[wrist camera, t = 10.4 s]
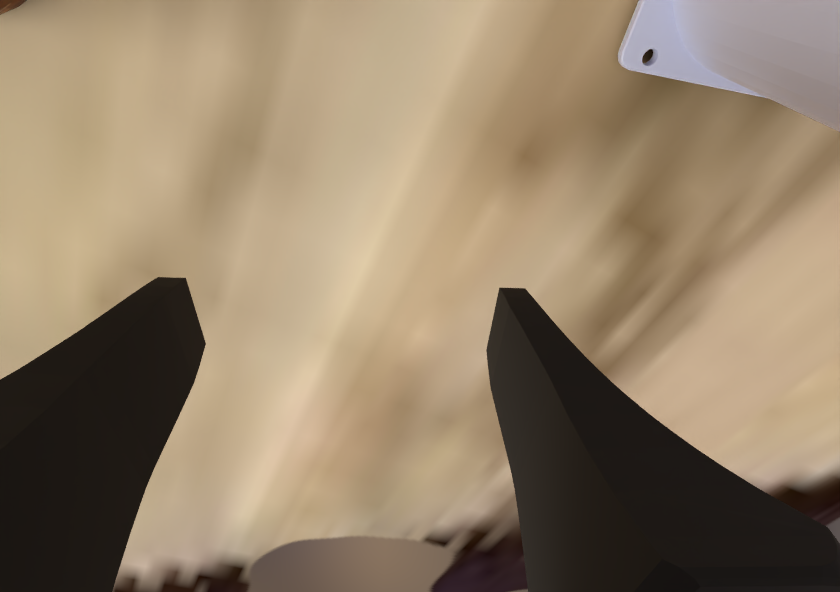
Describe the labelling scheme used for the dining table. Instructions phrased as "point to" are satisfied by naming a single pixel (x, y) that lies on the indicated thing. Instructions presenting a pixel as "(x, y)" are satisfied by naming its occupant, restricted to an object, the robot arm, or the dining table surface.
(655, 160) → the dining table surface
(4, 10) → the food container
